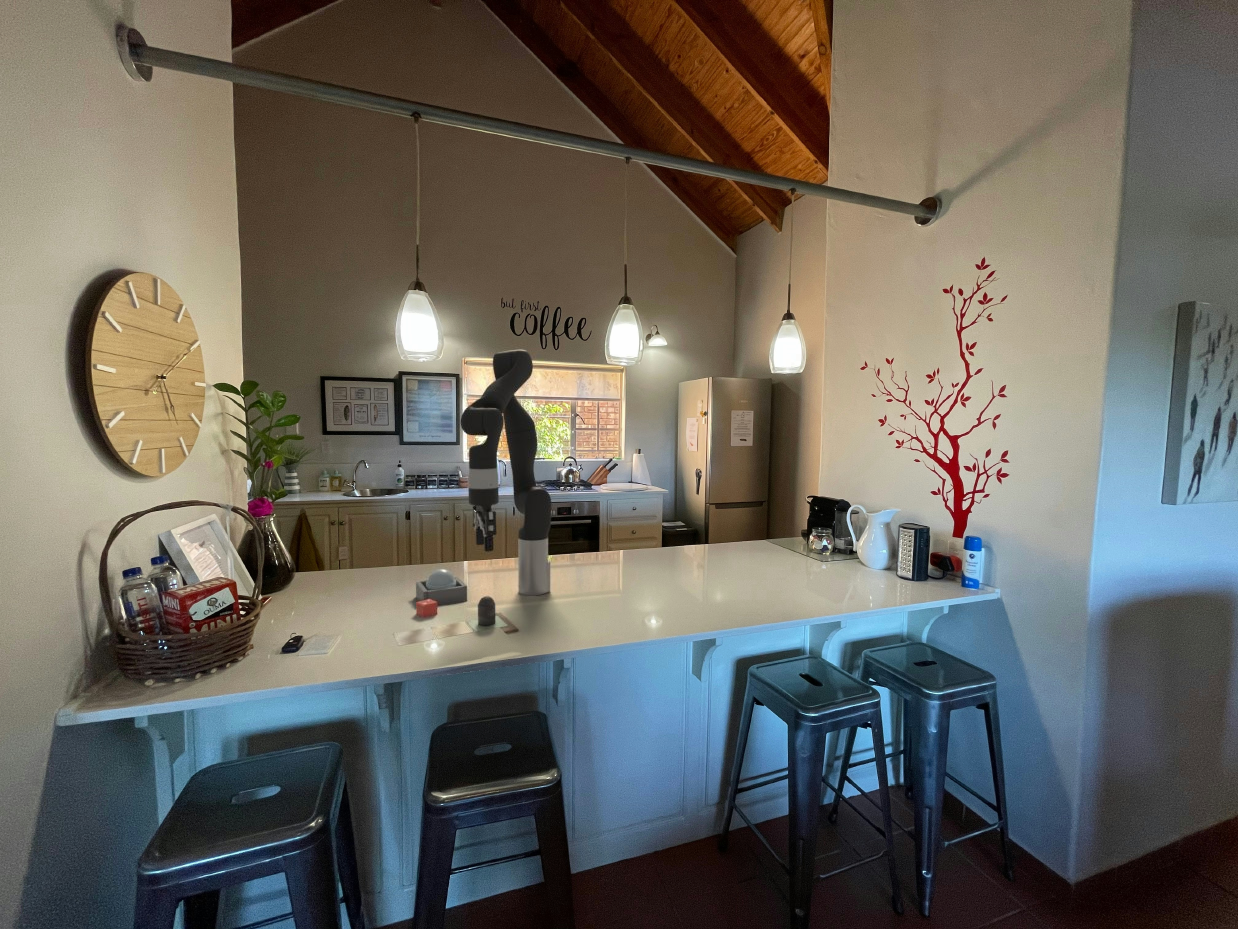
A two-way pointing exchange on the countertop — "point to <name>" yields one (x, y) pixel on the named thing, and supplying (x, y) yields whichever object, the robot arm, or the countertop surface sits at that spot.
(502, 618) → the game board
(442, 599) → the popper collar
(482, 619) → the dark grey capsule
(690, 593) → the countertop surface
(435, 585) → the dome
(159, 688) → the countertop surface
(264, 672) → the countertop surface
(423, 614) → the red die
